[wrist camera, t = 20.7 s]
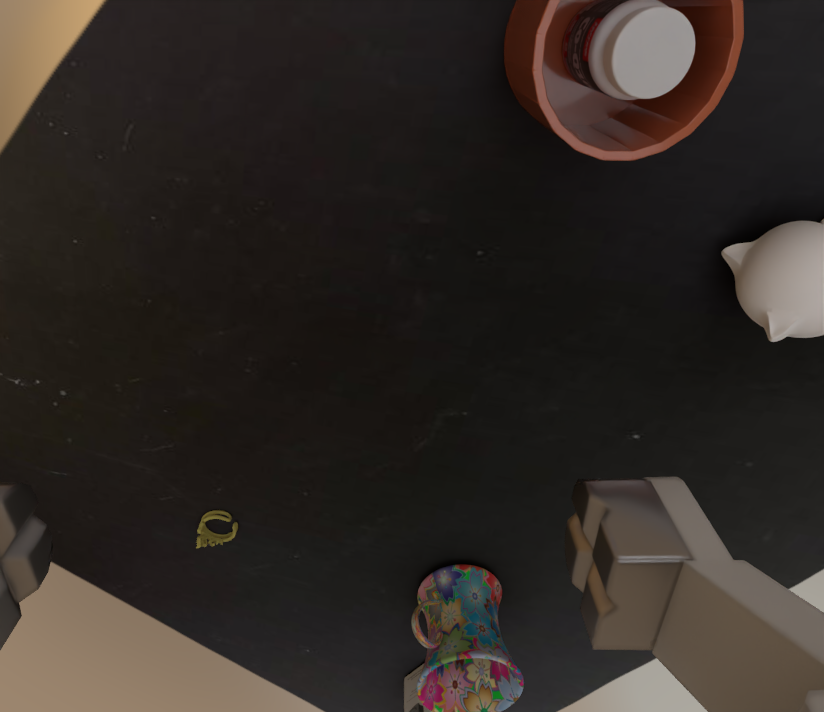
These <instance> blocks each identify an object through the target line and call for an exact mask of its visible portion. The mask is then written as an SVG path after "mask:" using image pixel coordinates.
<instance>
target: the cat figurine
mask: <svg viewBox="0 0 824 712" xmlns="http://www.w3.org/2000/svg"><path fill="white" fill-rule="evenodd" d="M721 255H722V256H723V258H724V259H725V261H726V262H727V263H728V265H729V266H730V268H731V269H732V271H733V274H734V276H735V287H736V294H737V298H738V301H739V303H740V305H741V307H742V308H743V310H744V311H745V313H746V314H747V315H748V316H749V317H750V318H751V319H752V320H753V321H755V322H756V323H757V324H759V325H760V326H762V327H764V329H765V331H766V333H767V336H768V339H769V341H771V342H776V341H779V340H782V339H783V338H785V337H787V336H789V337H797V338H810V337H817V336H821V335H824V219H823V220H822V221H821V223H817V222H812V221H794V222H789V223H785V224H782V225H780V226H777V227H775V228H773V229H771V230H770V231H768V232H767V233H765V234H764V235H762V236H761V237H760V238H759V239H757V240H755V241H753V242H747V243H738V244H734V245H731V246H729V247H726V248H725V249H723V250H722V252H721Z"/></svg>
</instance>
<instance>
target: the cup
mask: <svg viewBox="0 0 824 712" xmlns="http://www.w3.org/2000/svg"><path fill="white" fill-rule="evenodd" d="M595 1H598V0H517V1H516V3H515V5H514V7H513V10H512V12H511V15H510V18H509V21H508V25H507V29H506V33H505V41H504V62H505V70H506V74H507V78H508V81H509V84H510V87H511V89H512V91H513V93H514V95H515V97H516V99H517V100H518V101H519V103H520V104H521V106H522V107H523V108H524V110H525V111H527V112H528V113H529V114H530V115H531V116H532V117H534V118H535V119H536V120H537V121H538V122H539V123H541V124H542V125H543V126H544V127H546V128H547V129H548V130H550V131H551V132H552V133H553V134H555V135H556V136H557V137H559V138H560V139H561V140H563V141H564V142H565V143H566V144H568V145H569V146H570V147H572V148H573V149H574V150H576V151H578V152H581V153H584V154H586V155H589V156H592V157H594V158H597V159H600V160H604V161H632V160H637V159H640V158H643V157H647V156H650V155H653V154H656V153H660V152H662V151H665V150H666V149H668V148H669V147H671V146H672V145H674V144H675V143H677V142H678V141H680V140H682V139H683V138H685V137H686V136H688V135H689V134H691V132H693V131H694V130H695V129H696V128H697V127H698V126H699V125H700V123H701V122H702V121H703V120H704V119H705V118H706V117H707V116H708V115H709V114H710V113H711V112H712V110H713V109H714V108H715V107H716V106H717V104H718V103H719V101H720V99H721V97H722V95H723V94H724V92H725V90H726V88H727V86H728V84H729V83H730V81H731V79H732V77H733V75H734V73H735V69H736V65H737V62H738V58H739V54H740V50H741V46H742V42H743V37H744V23H743V1H742V0H657V1H660V2H662V3H664V4H665V5H667V6H668V7H670V8H673V9H675V10H677V11H679V12H681V13H682V14H683V15H684V16H685V17H686V18H687V19H688V20H689V22H690V24H691V26H692V28H693V31H694V35H695V53H694V57H693V60H692V63H691V66H690V68H689V70H688V72H687V73H686V75H685V76H684V78H683V79H682V80H681V81H680V82H679V84H678V85H677V86H675V87H674V88H673V89H672V90H670V91H669V92H667V93H665V94H663V95H661V96H659V97H656V98H651V99H635V100H620V99H616V98H611V97H609V96H607V95H605V94H603V93H601V92H598V91H596V90H593V89H591V88H588V87H585V86H583V85H581V84H580V83H578V82H577V81H575V80H574V79H573V78H572V76H571V75H570V74H569V72H568V71H567V69H566V67H565V64H564V60H563V41H564V37H565V33H566V30H567V28H568V26H569V24H570V23H571V21H572V20H573V18H574V17H575V16H576V15H577V13H578V12H580V11H581V10H582V9H583V8H584V7H586V6H587V5H589V4H591V3H593V2H595Z"/></svg>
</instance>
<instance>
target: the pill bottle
mask: <svg viewBox="0 0 824 712" xmlns="http://www.w3.org/2000/svg"><path fill="white" fill-rule="evenodd" d="M694 53H695V35H694V31H693V28H692V26H691V24H690V22H689V20H688V19H687V18H686V17H685V16H684V15H683V14H682V13H681V12H679V11H677V10H675V9H673V8H670V7H668V6H667V5H665V4H664V3H662V2H660V1H657V0H598V1H595V2H593V3H591V4H589V5H587V6H586V7H584V8H583V9H582V10H581V11H580V12H578V13H577V15H576V16H575V17H574V18H573V20H572V21H571V23H570V24H569V26H568V28H567V30H566V33H565V37H564V41H563V60H564V64H565V67H566V69H567V71H568V72H569V74H570V75H571V76H572V78H573V79H574V80H575V81H577V82H578V83H580V84H581V85H583V86H585V87H588V88H591V89H593V90H596V91H598V92H601V93H603V94H605V95H607V96H609V97H611V98H616V99H620V100H635V99H651V98H656V97H659V96H661V95H663V94H665V93H667V92H669V91H670V90H672V89H673V88H674V87H675V86H677V85H678V84H679V82H680V81H681V80H682V79H683V78H684V76H685V75H686V73H687V72H688V70H689V68H690V66H691V63H692V60H693V57H694Z"/></svg>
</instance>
